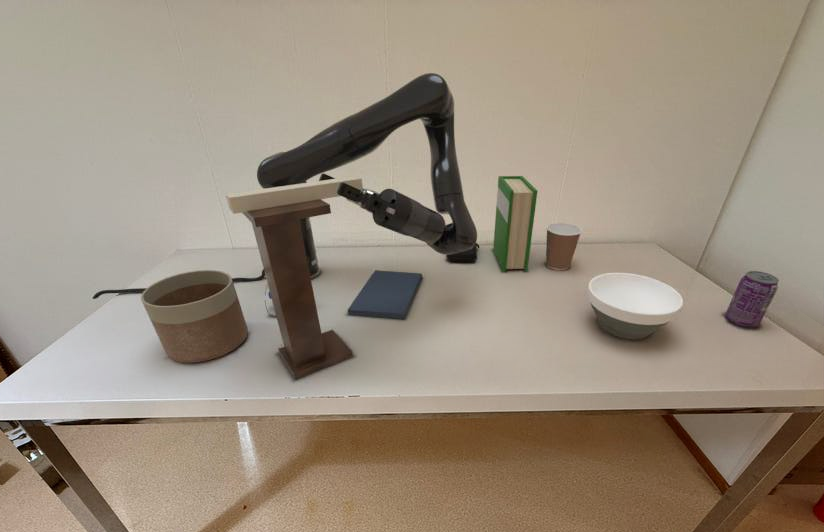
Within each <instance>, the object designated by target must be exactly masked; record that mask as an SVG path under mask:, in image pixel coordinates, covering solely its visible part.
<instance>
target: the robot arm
mask: <svg viewBox="0 0 824 532" xmlns="http://www.w3.org/2000/svg"><path fill="white" fill-rule="evenodd" d="M445 79H446V78H444V77H443V76H441V75H440V74H438V73H435V72H428V73H423V74H420V75H419V76H417V77H415V78H413V79H412V80H410V81H409V82H407V83H405V84H404V85H403V86H401V87H400V88H398V89H397V90H395V91H394V92H392V93H391V94H389V95H387V96H386V97H384V98H383V99H380V100H379V101H376V102H374V103H373V104H371V105H369V106H367V107H365V108H363V109H361V110H359V111H358V112H355V113H353V114H350V115H349V116H346V117H344V118H342V119H340V120H338V121H337V122H334V123H333V124H331V125H329V126H328V127H326V128H324V129H323V130H321V131H320V132H318V133H316V134H315V135H313V136H312V137H311V138H310V139H308V140H307V141H305V142H304V143H302V144H301V145H299V146H297V147H294V148H291V149H289V150H287V151H280V152H276V153H273V154H271V155H269V156H267V157H265V158H264V159H262V161H261V162H260V163H259V165H258V167H257V171H256V180H257V182H258V184H259V185H260V187H261V189H266V188H273V187H280V186H288V185H295V184H302V183H308V182H307V181H308V180H310V179H312V178H314V177H316V176H318V175H320V177H319V179H318V181H323V180H330V179H336V177H333V176H331V175H328V174H326V172H330V171H333V170H336V169H338V168H341V167H343V166H347V165H348V164H351V163H353V162H356V161H359V160H360V159H363V158H364V157H366V156H368V155H371V154H372V153H374V152H375V151H376V150H378V149H379V148H380V147H381V146H382V144H383V143H385V141H386V140H387V139H388V138H389V137H390V136H391V135H392V134H393V133H394V132H395V131H397V130H398V129H400V128H401V127H404V126H405V125H408V124H410V123H412V122H414V121H415V122H416V121H417V120H420V121H421V122H422V124H423V127H424V131H425V133H426V137H427V141H428V145H429V152H430V172H429V173H430V185H431V190H432V191H431V192H432V198H433V203H434V208H435V210H433V209H431V208H429V207H427V206H426V205H423V204H421V202H419V201H417V200H415V199H414V198H412V197H409V196H407V195H406V194H403V193H401V192H399V191H397V190H395V189H393V188H386V189H383V190H382V191H381V192H377V191H376V190H373V189H371V188H365V187H363V190H362V192H361V190H359V189H357V188H355V187H352V186H350V185H348V184H346V183H343V182H341V183H340V185H339V188H338V190H337V194H338V195H340V196H339V197H342V198H344V199H346V200H347V201H348V202H350V203H352V204H355V205H357V206H359V207H360V209H363V210H365V211H366V212H368V213H370V214H372V215H371V216H372V219H373V221H374V223H375V224H376V225H377V226H379V227H382V228H384V229H386V230H387V229H388V230H389V231H392V232H394V233H398V234H400V235H402V236H405V237H410V238H413V239H416V240H418V241H421V242H424V244H426V245H427V246H428V247H430V248H431V249H432V250H434V251H435V252H437V253H438V254H440V255H445V256H446V255H451V254H455V253H458V252H462V251H466V250H470V249H472V248H473V247H474V245H475V244H476V243H477V240H478V230H477V227H476V225H475V222H474V220H473V217H472V216H471V213H470V210H469V208H468V206H467V204H466V202H465V201H466V200H465V196H464V190H463V183H462V178H461V172H460V166H459V162H458V156H457V149H456V139H455V100H454V95H453V94H452V92H451V91H452V90H450V89H451V88H450V87H449V85H448V83H447V80H445ZM443 215H449V217H450V219H451V221H452V222H450V223H447V224H446V220H445V218H444V217H443ZM310 218H311V217H309V218H303V219H299V221H300V227H301V232H302V237H303V242H304V247H305V252H306V257H307V262H308V267H309V272H310V277H311V280H313V279H314V278H316V277H318V276H319V275H320V273H321V272H320V271H321V270H320V266H319V262H318V261H319V260H318V256H317V250H316V244H315V239H314V234H313V229H312V224H311V219H310ZM231 278H232V280H233V283H234V282H256V281H261V280H263V279H264V278H266V275H265V272H264V268H263V269H262V270H261V275H259V276H258V277H253V278H252V277H231ZM147 288H148V287H145V288H144V287H142V288H141V287H140V288H123V289H122V288H121V289H104V290H100V291H98V292H95V294H94V295H93V296H92V300H95V299H96V300H97V299H98V298H99V297H100V296H102V295H105V294H125V293H127V294H128V293H143V292H144V291H145V290H146V289H147Z"/></svg>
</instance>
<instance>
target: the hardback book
mask: <svg viewBox="0 0 824 532" xmlns="http://www.w3.org/2000/svg"><path fill="white" fill-rule="evenodd" d="M496 193H497V194H496V205H495V217H494V218H495V219H494V233H493V246H492V247H493V249H492V250H493V252H494V255H495V257H496V259H497V261H498V264H499V266H500V269H501V271H502V273H507V270H523V272H528V268H529V262H530V254H531V246H532V236H533V229H534V222H535V215H536V214H535V213H536V205H537V199H538V189H536V187H534V185H532V184H531V183H530V181H528V180H527V179H526V178H525V177H524V176H523V175H498V179H497V191H496Z"/></svg>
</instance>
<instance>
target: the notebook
mask: <svg viewBox="0 0 824 532" xmlns="http://www.w3.org/2000/svg"><path fill="white" fill-rule="evenodd" d="M422 280H423V273H420V272H405V271H393V270H378V269H377V270H376V269H374V271H373V273H372V274H371V275H370V277H369V278H368V280H367V281H366V283H365V284H364V285H363V287H362V288H361V290H359V292H358V294H357V296H356V297H355V298H354V300H353V301H352V303H351V304H350V306H349V307H348V309H347V314H348V316H361V317H370V318H384V319H397V320H405V318H406V316H407V313H408V312H409V309H410V307H411V305H412V302H413V300H414V299H415V296H416V293H417V291H418V288H419V287H420V284H421V281H422Z"/></svg>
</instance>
